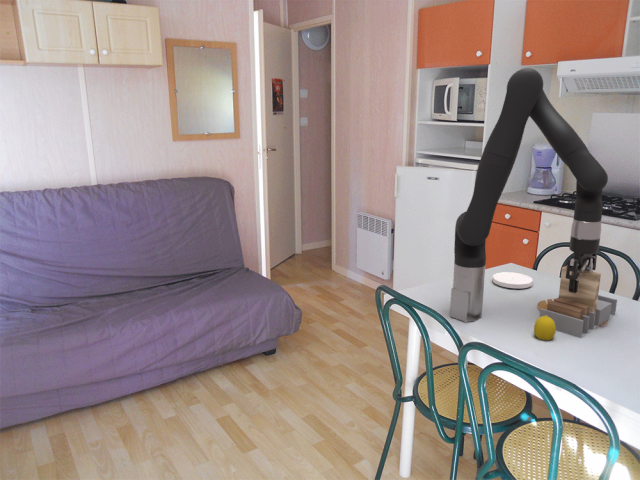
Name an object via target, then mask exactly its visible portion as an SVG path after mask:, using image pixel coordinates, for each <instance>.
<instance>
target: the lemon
mask: <svg viewBox="0 0 640 480" xmlns="http://www.w3.org/2000/svg"><path fill="white" fill-rule="evenodd" d="M556 331H557V330H556V327H555V322H554V321H553V320H552V319H551V318H550V317H548V316H547V315H545V316H542V317H540V316H539V317H538V318H537V319H536V321H535V322H534V325H533V332H534V336H535V337H536V338H537V339H538V340H542V341H551V340H552V339H553V338H554V337H555V335H556Z"/></svg>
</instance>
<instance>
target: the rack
mask: <svg viewBox="0 0 640 480" xmlns="http://www.w3.org/2000/svg"><path fill="white" fill-rule="evenodd" d="M617 305H618V299H616V298H612V297H608V296H605V295H599V294H598V300H597V308H596V313H593V312H590V311H589V314H588V316H585V315H583V318H582V320H580V319H576V318H573V317H569V316H566V315H563V314H559V313H556V312H552V311H549V310H547V307H548V304H547V306H546V309H545V308H540V309H539V311H540V312H539V317H542V316H545V315H547V316H548V317H550V318H551V319H552V320H553V321H554V322H555V327H556V331H557V332H560V333H563V334H566V335H569V336H572V337H577V338H579V339H582V338H583V337H585V336H586V335H588V334H589V333H591V332H592V331H594V330H596V329H597V328H598V327H599V326H601V325H603V324H604V323H605V322H607V321H608V320H610V319H612V318H613V317H615V316H616V311H617ZM595 314H596V315H595ZM594 322H595V323H594Z"/></svg>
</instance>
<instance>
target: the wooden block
mask: <svg viewBox="0 0 640 480" xmlns="http://www.w3.org/2000/svg"><path fill="white" fill-rule="evenodd" d="M566 271H567V265H564V266H563V267H561V273H560V282H559V291H558V292H559V293H558V298H561V299H565V300H569V301H573V302H576V303H580V304H584V305H587V306H589V311H590V312H593V313H596V308H597V300H598V295H599V292H600V285H601V276H602V273H599V272H595V271H593V272H592V271H587V270H584V272H583V274H582V275H580V277H579V280H578V290H577V293H572V292H569V281H570V279H566ZM570 272H571V271H570ZM595 315H596V314H595ZM594 323H595V322H594Z"/></svg>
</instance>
